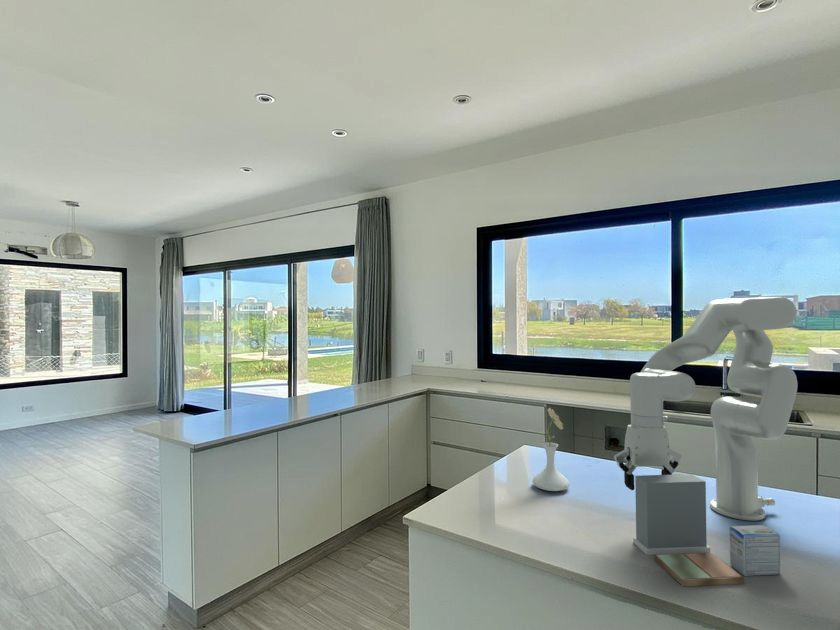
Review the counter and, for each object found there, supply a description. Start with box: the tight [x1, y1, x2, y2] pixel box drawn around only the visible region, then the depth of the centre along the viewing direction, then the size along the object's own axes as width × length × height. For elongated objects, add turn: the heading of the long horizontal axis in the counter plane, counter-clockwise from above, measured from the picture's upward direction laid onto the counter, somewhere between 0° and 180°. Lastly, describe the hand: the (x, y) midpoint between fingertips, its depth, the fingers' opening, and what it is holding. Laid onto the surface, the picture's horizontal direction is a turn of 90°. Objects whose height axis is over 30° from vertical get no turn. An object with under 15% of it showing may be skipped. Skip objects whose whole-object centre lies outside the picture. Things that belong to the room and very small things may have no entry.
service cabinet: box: [632, 473, 711, 556], centre depth 106 cm, size 15×6×16 cm, turn 93°
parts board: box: [653, 551, 745, 587], centre depth 96 cm, size 13×10×1 cm
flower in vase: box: [532, 407, 570, 492], centre depth 145 cm, size 13×11×25 cm
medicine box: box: [729, 524, 781, 577], centre depth 96 cm, size 8×4×9 cm, turn 92°
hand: (648, 487), depth 116 cm, fingers open, 9 cm apart
